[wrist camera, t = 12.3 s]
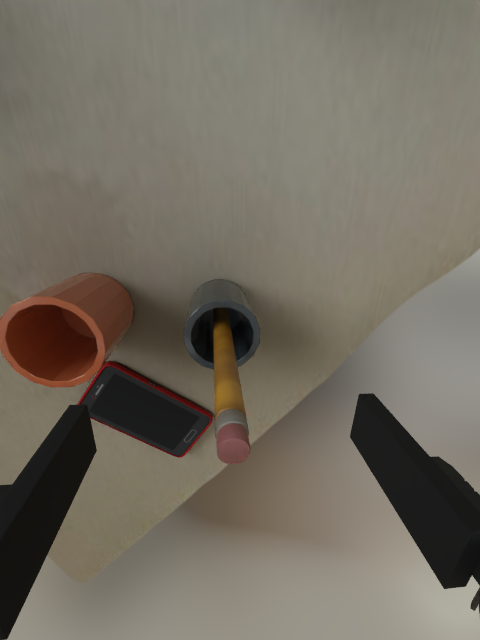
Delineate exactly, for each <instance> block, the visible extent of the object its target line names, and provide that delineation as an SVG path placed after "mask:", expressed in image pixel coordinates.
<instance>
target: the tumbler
mask: <svg viewBox="0 0 480 640" xmlns="http://www.w3.org/2000/svg"><path fill="white" fill-rule="evenodd" d="M214 308H227V309H228V314H229V320H230V326H231V332H232V337H233V343H234V349H235V355H236V361H237V366H241V365H243V364H244V363H245V362H247V361H248V360H249V359H250V358H251V357H252V356H253V355H254V353H255V351H256V349H257V347H258V345H259V343H260V327H259V324H258V322H257V319H256V317H255V314H254V312H253V310H252V307H251V305H250V303H249V300H248V298H247V296H246V294H245V292H244V291H243V290H242V289H241V288H240V287H239V286H238V285H237V284H235V283H233V282H231V281H228V280H224V279H215V280H211V281H208V282H206V283H204V284H203V285H201V286H200V287H199V288H198V289H197V290H196V291H195V293H194V295H193V297H192V300H191V303H190V306H189V310H188V315H187V319H186V323H185V328H184V344H185V347H186V349H187V350H188V352H189V354H190V356H191V357H192V358H193V359H194V360H195V361H197V362H198V363H199V364H200V365H202V366H204V367H207V368H210V369H213V370H214V340H213V309H214Z"/></svg>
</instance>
